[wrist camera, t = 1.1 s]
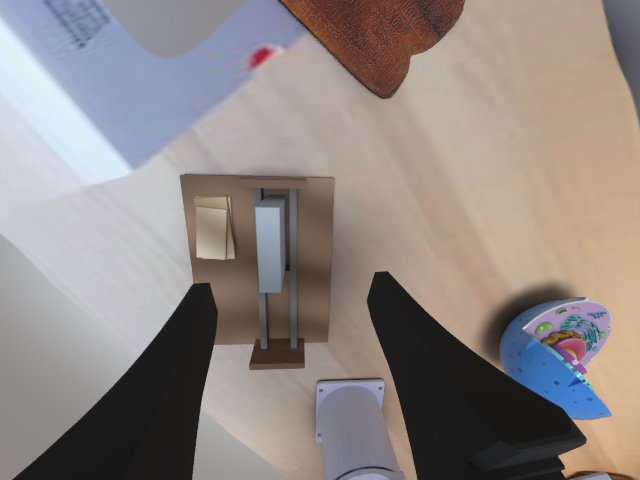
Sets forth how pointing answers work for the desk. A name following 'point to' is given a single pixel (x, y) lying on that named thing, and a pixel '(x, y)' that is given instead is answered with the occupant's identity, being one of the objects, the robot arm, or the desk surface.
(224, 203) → the offcut stack
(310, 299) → the board with sliding block
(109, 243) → the desk surface
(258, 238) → the slate board
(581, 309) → the cell model
